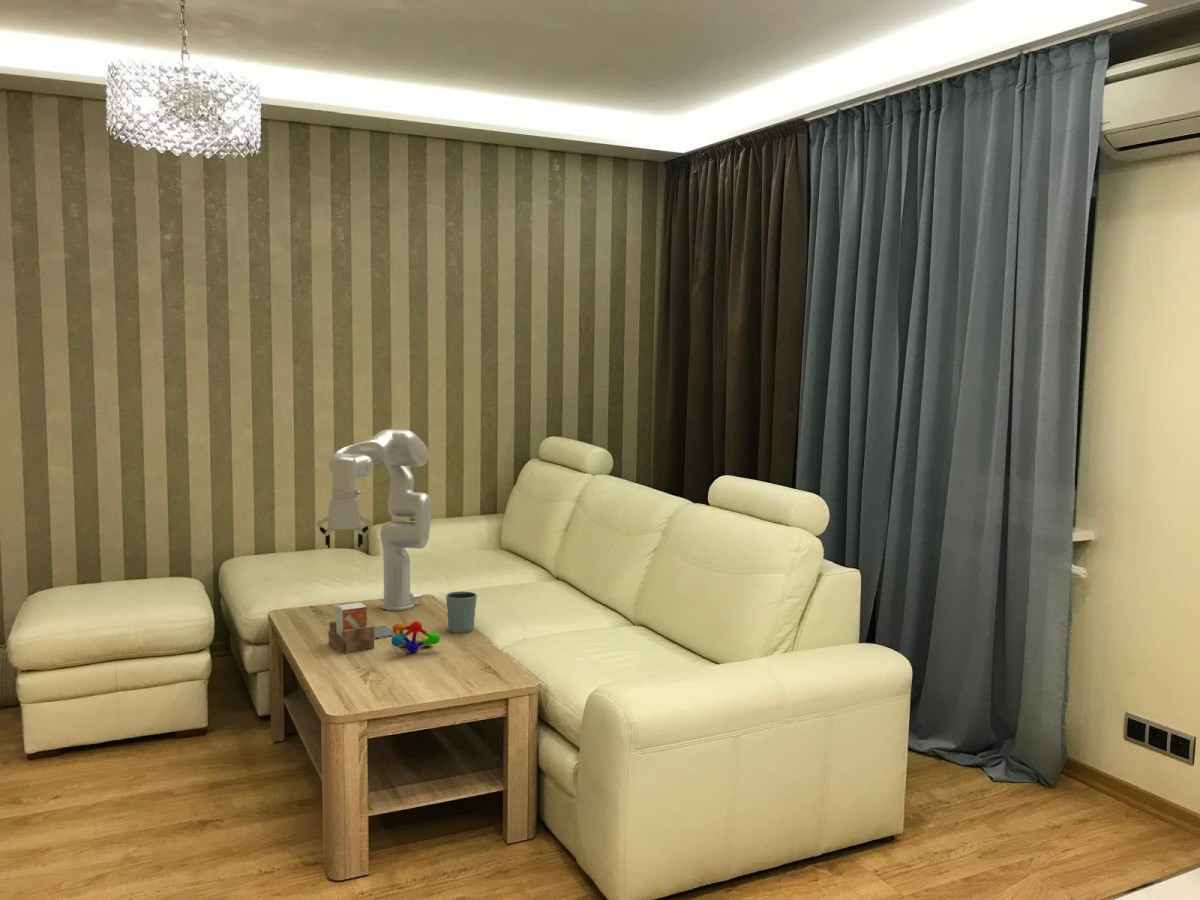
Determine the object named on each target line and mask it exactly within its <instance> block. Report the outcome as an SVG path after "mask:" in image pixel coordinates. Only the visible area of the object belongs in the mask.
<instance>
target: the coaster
mask: <svg viewBox="0 0 1200 900" xmlns="http://www.w3.org/2000/svg"><path fill="white" fill-rule="evenodd" d="M392 629H393V628H390V627H388V626H387V625H378V626H374V638H380V637H386V638H388V637H387V636H393V635H396V634H395V633H394V632H393V630H392ZM380 639H381V638H380Z"/></svg>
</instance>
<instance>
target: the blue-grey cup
mask: <svg viewBox="0 0 1200 900" xmlns="http://www.w3.org/2000/svg"><path fill="white" fill-rule="evenodd" d="M445 597H446V607H447V608H446V609H447V628H448V629H447V630H448V631H449V632H450V631H451V632H450V633H454V632H456V633H455V634H464V632H467V633H470V632H472V631H474V628H475V618H476V617H475V616H476V615H475V614H476V605H477V597H478V595H477V593H475V592H473V591H472V592H471V591H451V592H448V593H446V595H445Z"/></svg>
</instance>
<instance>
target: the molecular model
mask: <svg viewBox="0 0 1200 900" xmlns="http://www.w3.org/2000/svg"><path fill="white" fill-rule="evenodd" d="M391 629H392V630H393V632H394V633H395V634H396V635H395V636H393V637H391V638H390V639H391V640H390V642H391V644H392V646H393V647H395V648H396V647H400V646H401V647H403V648H406V650H407V651H408V653H410V652H411V654H414V653H413V652H415V653H416V652H417V651H418V649H419V647H421V646H424V647H425V646H427V647H426V648H429V647H431V646H432V645H436V644H438V643H440V641H441V638H440V635H439V634H438V633H437V632H431V633H430V632H428V631H427V630H425V629H423V628H422V623H421V622H419V621H417V620H414V621H413V622H412V623H410V625H405V626H404V625H403V624H402V623H401V622H400V623H399V622H397V623H394V624H393V626H392V628H391ZM404 631H405V632H404ZM411 633H412V637H411V638H410V636H409V635H410V634H411ZM418 633H421V634H423V635H425V636H424V637H422V639H418V638H417V634H418ZM405 646H406V647H405ZM428 646H429V647H428Z"/></svg>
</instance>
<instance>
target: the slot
mask: <svg viewBox="0 0 1200 900" xmlns="http://www.w3.org/2000/svg"><path fill="white" fill-rule="evenodd" d="M374 627H375V626H373V625H370V626H367V627H362V628H355V629H349V630H342V637H340V636H339V635H338V634H336V620H334V621H329V631H328V632H327V633H328V645H330V644H331V645H330V646H332V647H333V646H334V647H335V648H334V647H333V648H334V649H336V650H337V649H338V650H339V651H338V650H337V651H338V652H339V653H341V654H342V653H343V654H347V653H346V652H349V653H353V652H352V651H355V652H359V651H358V650H362V651H364V650H363V649H368V650H370V649H369V648H374V649H375V639H374Z"/></svg>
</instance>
